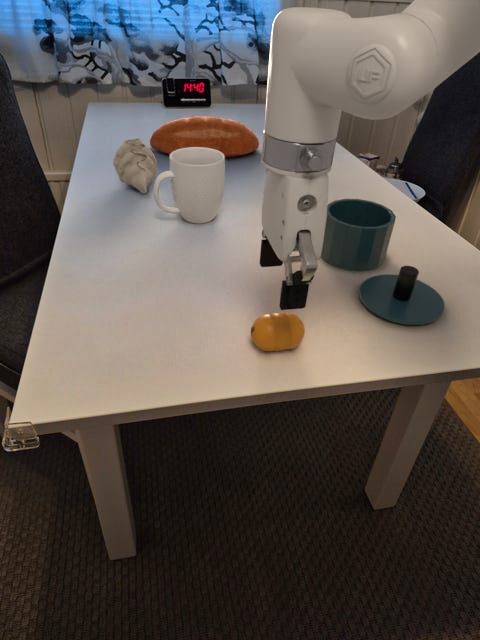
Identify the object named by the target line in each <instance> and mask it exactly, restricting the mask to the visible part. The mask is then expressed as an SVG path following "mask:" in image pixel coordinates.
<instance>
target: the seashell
mask: <svg viewBox="0 0 480 640" xmlns="http://www.w3.org/2000/svg"><path fill="white" fill-rule="evenodd" d="M112 164H113V167H114V171H115V172H116V174H117V176H118V178H119V180H120V181H121V182H122V183H125V184H126V185H130V186H132V187H133V188H134V189H137V190H138V191H139V192H140V194H142V195H143V194H147V193H148V192H147V191H148V186H149V184H151V183H152V182H153V180H154V179H155V178H156V176H157V173H158V163H157V159H156V157H155V155H154V153H153V152H152V150H151V149H150V147H148V146H147V145H146V144H145V143H144V141H143V140H142V139H141V138H133V139H126V140H124V141H123V143H122V145H120V147H119V148H118V149H117V150H116V152H115V155H114V157H113V163H112Z"/></svg>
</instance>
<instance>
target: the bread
mask: <svg viewBox="0 0 480 640" xmlns="http://www.w3.org/2000/svg"><path fill="white" fill-rule="evenodd" d="M149 146H150V147H151V148H152V149H155V150H156V151H159V152H162V153H165V154H167V155H170V154H171V153H172V152H173V151H175V150H178V149H182V148H188V147H205V148H211V149H215V150H218V151H220V152H221V153H223V154H224V156H225V158H231V157H232V158H233V157H238V156H243V155H247V154H249V153H252V152H254V151H256V150H257V149H258V148H259V146H260V141H259V138H258V137H257V135H256V134H255V133H254V132H253V131H252V130H251V129H250V128H249V127H248V126H246V125H245V124H244V123H242V122H240V121H236V120H234V119H229V118H223V117H219V116H213V115H212V116H210V115H207V116H206V115H205V116H203V115H194V116H189V117H181V118H177V119H174V120H170V121H167V122H165V123H163V124H162V125H161V126H158V128H157V129H155V131H153V133H152V135H151V137H150V139H149Z"/></svg>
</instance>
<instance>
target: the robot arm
mask: <svg viewBox="0 0 480 640" xmlns="http://www.w3.org/2000/svg"><path fill="white" fill-rule="evenodd" d="M269 47H270V48H269V58H268V59H269V60H268V71H267V73H268V74H267V85H266V97H265V98H266V99H265V100H266V101H265V112H264V114H265V115H264V126H263V137H262V149H261V162H260V163H261V165H262V167H263V168H265V169H266V171H265V172H266V173H265V180H264V187H263V196H262V205H261V226H262V230H261V237H262V239H260V240H261V243H260V253H259V266H260V267H261V268H271V267H272V268H273V267H281V266H283V269H284V276H285V279H283V280H282V281H281V288H280V295H279V303H278V306H279V309H280V310H281V311H289V310H300V309H301V310H302V309H305V308H306V307H307V300H308V294H309V289H310V284H312V281H314V278H315V276H316V275H315V274H316V272H317V270H318V269H319V265H318V261H319V260H320V258H322V257H321V253H322V247H323V240H324V232H325V225H326V216H327V206H328V204H329V175H328V173H330V172H331V170H332V167H333V161H334V157H335V156H334V155H335V151H336V143H337V138H338V133H339V126H340V123H341V122H340V120H341V116H342V112H344V113H347V114H349V115H352V116H354V117H357V118H361V119H366V120H371V121H380V120H381V121H382V120H385V119H390V118H393V117H395V116H397V115H400V114H401V113H403V112H404V111H405V110H407V109H408V108H410V107H411V106H413V105H414V104H415V103H417V102H418V101H419V100H420V99H422V98H423V97H425V96H426V95H428V94H429V93H431V92H432V91H433V90H435V88H438V86H439V85H440V84H442V83H443V82H444V81H446V80H447V79H448V78H449V77H450V76H452V75H453V74H454V73H455V72H457V71H458V70H459V69H460V68H461V67H463V66H464V65H465V64H467V63H469V61H471V60H472V59H473V58H474V57H475V56H477V55H478V54H479V53H480V0H413V1H412V2H411V3H410V4H409V5H408V6H407V7H406V8H405V9H404V10H403V11H402V12H396V13H389V14H387V15H386V14H385V15H376V16H368V17H352V16H351V15H350V14H349V13H347V12H345V11H342V10H338V9H332V8H323V7H310V6H309V7H307V6H306V7H305V6H298V7H296V6H295V7H294V6H293V7H288V8H285V9H282V10H280V11H279V12H278V13H277V15H275V18H274V20H273V22H272V27H271V35H270V46H269ZM294 252H295V253H297V252H298V253H299V255H292V253H294ZM296 263H300V267H299V269H298V270H295V271H293V264H296Z"/></svg>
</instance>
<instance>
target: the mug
mask: <svg viewBox="0 0 480 640" xmlns="http://www.w3.org/2000/svg"><path fill="white" fill-rule="evenodd" d="M168 157H169V170H166V171H163V172H161V173H160V174H158V176H157V177H156V179H155V181H154V184H153V192H152V193H153V198H154V201H155V203H156V205H157V206H158V207H159V209H160V210H162V211H164V212H166V213H171V214H179V215H180V216H181V217H182V219H184V221H186V222H189V223H190V224H191V223H192V224H207V223H209V222H211V221H212V220H214V218H215V217H216V216H217V215H218V212H219V211H220V209H221V206H222V202H223V200H224V199H223V198H224V195H225V194H224V193H225V183H226V182H225V179H226V174H225V173H226V164H225V163H226V157H225V156H224V154H223V153H221V152H220V151H218V150H215V149H211V148H205V147H188V148H182V149H178V150H175V151H173V152H172V153H171V154H169V156H168ZM166 179H170V186H171V194H172V196H173V200H174V204H175V206H174V207H172V206H171V207H169V206H167V205H164V204H163V202H162V201H161V199H160V195H159V194H160V193H159V189H160V185H161V183H162V182H163V181H164V180H166Z"/></svg>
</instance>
